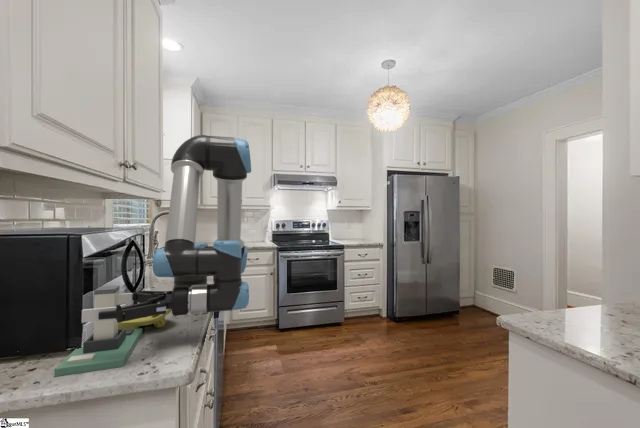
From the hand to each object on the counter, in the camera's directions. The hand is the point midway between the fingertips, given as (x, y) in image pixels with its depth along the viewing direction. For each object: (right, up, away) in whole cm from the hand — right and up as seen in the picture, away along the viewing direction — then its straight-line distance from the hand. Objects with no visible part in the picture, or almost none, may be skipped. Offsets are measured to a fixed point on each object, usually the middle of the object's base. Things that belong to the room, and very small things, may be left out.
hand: (93, 307), depth 71 cm
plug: (+2, -10, +1) cm, 10 cm away
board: (+2, -11, +1) cm, 11 cm away
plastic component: (0, -12, +18) cm, 22 cm away
